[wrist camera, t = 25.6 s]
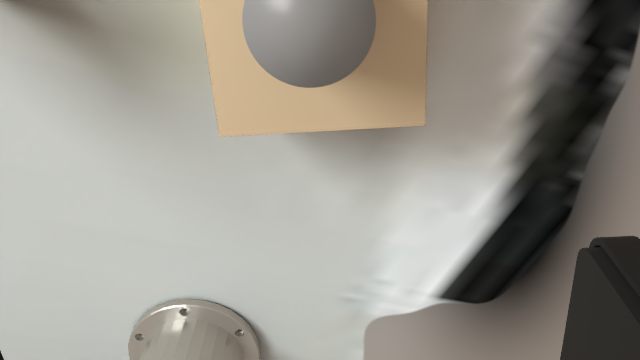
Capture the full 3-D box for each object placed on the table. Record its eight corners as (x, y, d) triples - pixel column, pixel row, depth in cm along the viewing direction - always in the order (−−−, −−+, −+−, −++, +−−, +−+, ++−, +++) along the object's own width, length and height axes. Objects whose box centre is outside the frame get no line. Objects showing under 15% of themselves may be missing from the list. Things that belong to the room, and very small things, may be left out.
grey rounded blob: (370, 53, 35) (377, 83, 29) (262, 60, 35) (250, 91, 30) (366, -63, 32) (374, -53, 27) (249, -55, 32) (234, -44, 27)
